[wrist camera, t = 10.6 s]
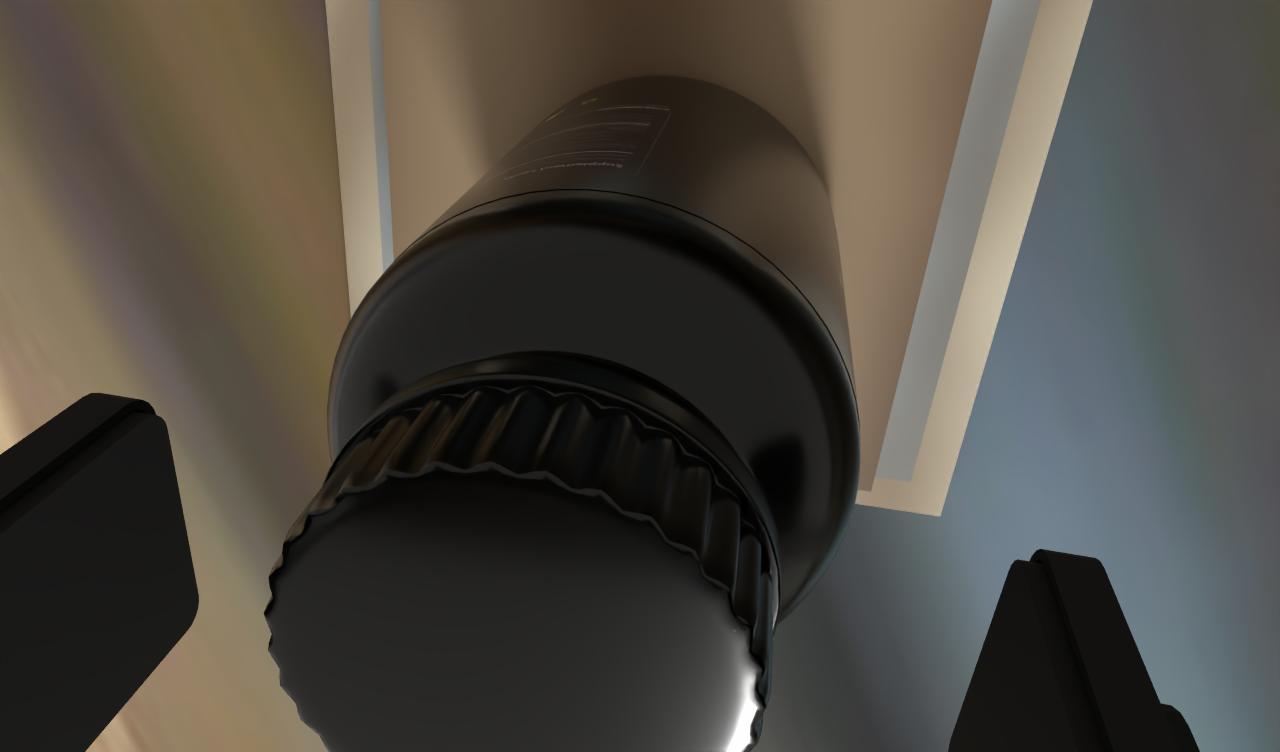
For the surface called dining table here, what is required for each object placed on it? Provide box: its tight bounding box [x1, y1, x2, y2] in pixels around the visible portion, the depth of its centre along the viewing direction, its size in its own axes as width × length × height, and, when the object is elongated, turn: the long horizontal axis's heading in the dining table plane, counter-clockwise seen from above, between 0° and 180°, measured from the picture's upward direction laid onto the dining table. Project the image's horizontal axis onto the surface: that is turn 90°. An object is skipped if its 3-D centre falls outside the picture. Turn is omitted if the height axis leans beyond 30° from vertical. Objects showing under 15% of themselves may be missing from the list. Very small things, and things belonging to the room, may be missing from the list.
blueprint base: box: [326, 0, 1093, 516], centre depth 21 cm, size 16×16×4 cm
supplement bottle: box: [264, 75, 861, 752], centre depth 14 cm, size 7×7×12 cm
